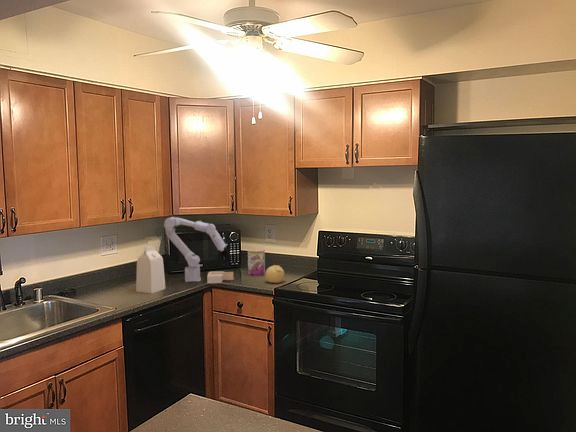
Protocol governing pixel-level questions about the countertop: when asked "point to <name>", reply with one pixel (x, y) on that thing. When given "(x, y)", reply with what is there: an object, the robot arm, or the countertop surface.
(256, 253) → the candy bar box
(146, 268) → the milk
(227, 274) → the thin wooden plank
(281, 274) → the beige round lump
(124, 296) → the countertop surface
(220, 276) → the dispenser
